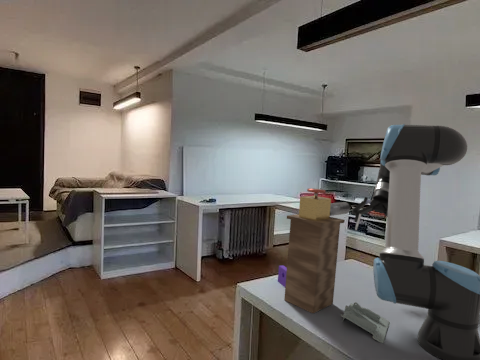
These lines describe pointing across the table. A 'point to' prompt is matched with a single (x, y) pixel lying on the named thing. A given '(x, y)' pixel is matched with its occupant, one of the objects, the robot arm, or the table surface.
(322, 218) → the valve pipe
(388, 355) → the table surface
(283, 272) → the bracket
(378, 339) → the metal bracket
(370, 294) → the table surface
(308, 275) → the stand
